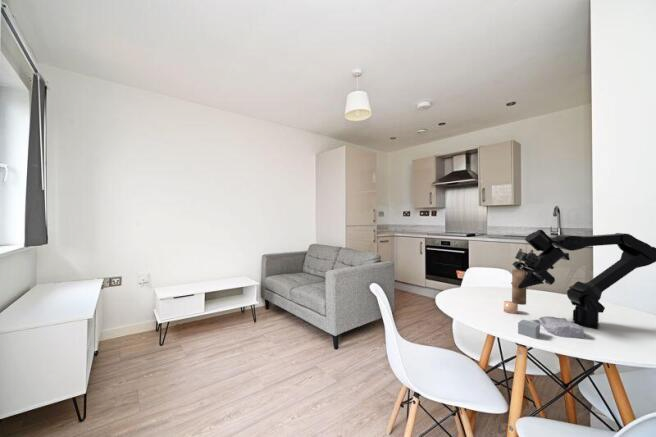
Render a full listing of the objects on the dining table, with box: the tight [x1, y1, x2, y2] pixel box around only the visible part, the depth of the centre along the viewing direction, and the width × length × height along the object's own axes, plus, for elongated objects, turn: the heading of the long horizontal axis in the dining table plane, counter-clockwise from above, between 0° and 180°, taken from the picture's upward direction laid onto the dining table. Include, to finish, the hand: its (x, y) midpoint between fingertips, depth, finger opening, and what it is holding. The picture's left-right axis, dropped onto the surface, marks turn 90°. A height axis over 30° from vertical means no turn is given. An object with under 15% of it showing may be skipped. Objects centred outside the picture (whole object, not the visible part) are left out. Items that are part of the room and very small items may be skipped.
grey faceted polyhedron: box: [517, 319, 541, 340], centre depth 92 cm, size 5×5×4 cm
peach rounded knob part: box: [503, 300, 519, 315], centre depth 114 cm, size 5×5×4 cm
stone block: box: [538, 316, 585, 339], centre depth 96 cm, size 12×5×10 cm
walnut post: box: [511, 268, 527, 306], centre depth 105 cm, size 5×5×13 cm
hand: (515, 286), depth 106 cm, fingers closed on walnut post, 5 cm apart
